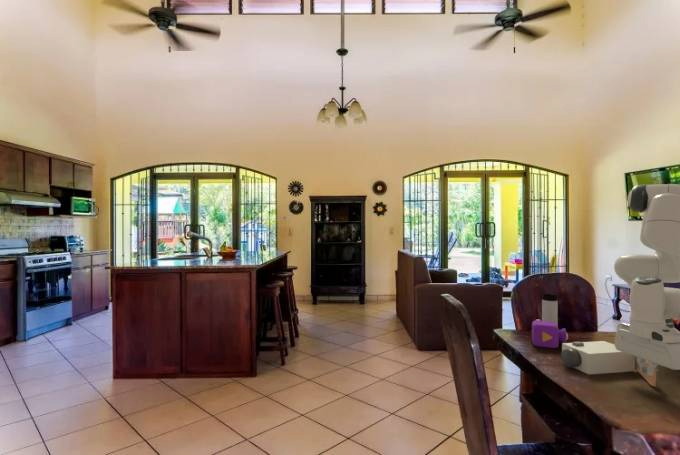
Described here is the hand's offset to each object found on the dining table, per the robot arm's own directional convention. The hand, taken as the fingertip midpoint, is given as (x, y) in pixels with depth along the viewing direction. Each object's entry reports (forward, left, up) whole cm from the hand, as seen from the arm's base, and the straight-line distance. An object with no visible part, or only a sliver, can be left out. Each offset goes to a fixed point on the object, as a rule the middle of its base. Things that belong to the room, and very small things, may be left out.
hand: (646, 373), depth 120 cm
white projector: (+2, -18, -4) cm, 19 cm away
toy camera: (0, -43, -4) cm, 43 cm away
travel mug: (-10, -55, -4) cm, 56 cm away
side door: (-6, -5, -3) cm, 9 cm away
